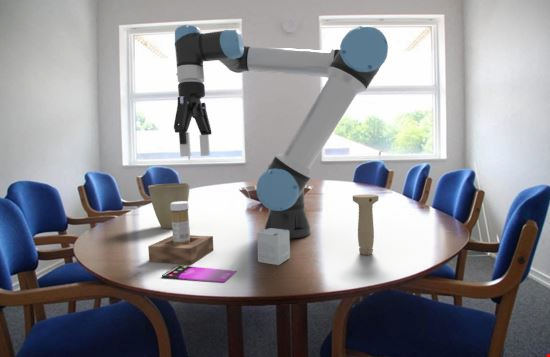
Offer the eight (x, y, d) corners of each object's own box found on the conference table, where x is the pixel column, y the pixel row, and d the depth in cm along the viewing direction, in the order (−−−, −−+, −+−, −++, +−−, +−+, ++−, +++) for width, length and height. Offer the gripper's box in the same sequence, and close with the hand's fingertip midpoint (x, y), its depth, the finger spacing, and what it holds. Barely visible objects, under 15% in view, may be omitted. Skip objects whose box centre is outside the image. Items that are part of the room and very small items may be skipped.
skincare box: (270, 255, 86) (269, 227, 86) (290, 258, 83) (290, 229, 83) (257, 262, 81) (256, 232, 81) (278, 265, 78) (277, 235, 78)
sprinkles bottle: (190, 248, 91) (187, 200, 90) (191, 253, 86) (188, 202, 85) (173, 250, 89) (169, 201, 88) (173, 255, 85) (170, 204, 84)
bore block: (213, 250, 92) (212, 236, 92) (191, 264, 81) (190, 248, 80) (175, 248, 95) (174, 234, 95) (149, 261, 84) (148, 246, 84)
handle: (382, 255, 83) (382, 196, 82) (359, 257, 82) (358, 197, 81) (372, 249, 88) (371, 194, 87) (350, 252, 87) (349, 195, 85)
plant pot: (200, 224, 127) (198, 183, 126) (169, 232, 115) (166, 187, 114) (173, 221, 135) (171, 182, 134) (142, 228, 123) (139, 186, 122)
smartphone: (179, 268, 79) (179, 264, 79) (237, 272, 75) (237, 268, 75) (161, 279, 73) (160, 275, 72) (224, 285, 68) (223, 280, 68)
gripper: (197, 91, 109) (201, 155, 111) (156, 74, 85) (162, 157, 87) (218, 89, 108) (222, 154, 110) (183, 71, 84) (189, 155, 85)
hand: (196, 156), depth 98 cm, fingers open, 13 cm apart
